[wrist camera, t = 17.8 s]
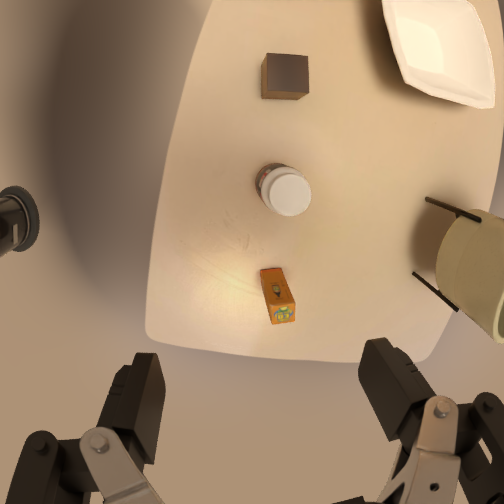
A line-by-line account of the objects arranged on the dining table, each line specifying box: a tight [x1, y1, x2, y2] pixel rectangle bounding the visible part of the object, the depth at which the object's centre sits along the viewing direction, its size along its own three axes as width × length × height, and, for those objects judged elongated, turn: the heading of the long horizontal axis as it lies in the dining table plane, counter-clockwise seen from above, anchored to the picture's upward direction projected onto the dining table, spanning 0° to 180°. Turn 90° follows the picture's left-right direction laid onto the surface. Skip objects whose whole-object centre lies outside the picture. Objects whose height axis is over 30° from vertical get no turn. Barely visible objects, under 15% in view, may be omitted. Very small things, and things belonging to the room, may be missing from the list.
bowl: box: [381, 0, 495, 109], centre depth 28 cm, size 22×23×8 cm
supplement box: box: [260, 268, 295, 324], centre depth 40 cm, size 3×3×10 cm
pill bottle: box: [256, 163, 312, 216], centre depth 35 cm, size 6×6×10 cm
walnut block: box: [261, 53, 309, 100], centre depth 32 cm, size 5×5×6 cm
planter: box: [412, 197, 504, 344], centre depth 34 cm, size 15×16×23 cm
